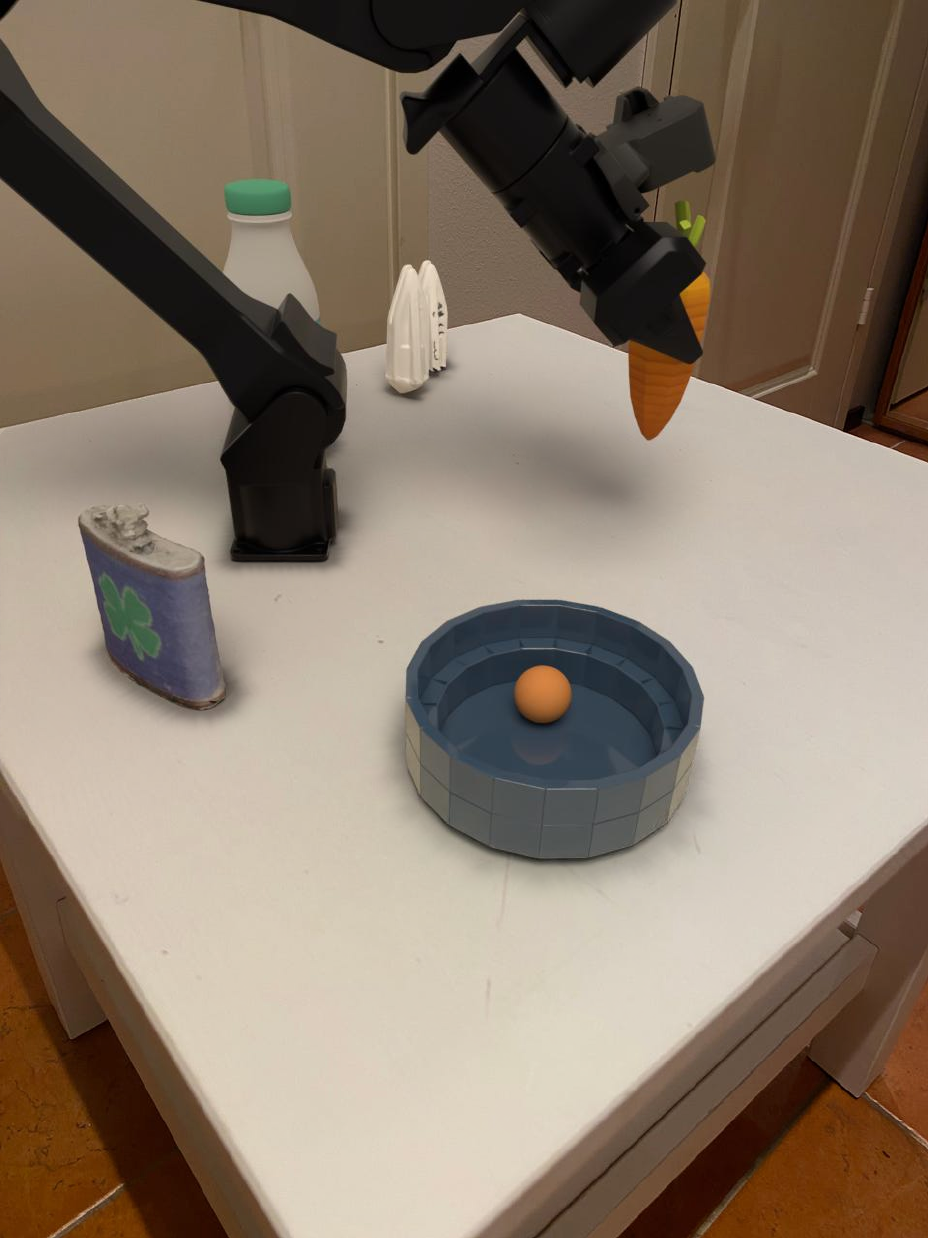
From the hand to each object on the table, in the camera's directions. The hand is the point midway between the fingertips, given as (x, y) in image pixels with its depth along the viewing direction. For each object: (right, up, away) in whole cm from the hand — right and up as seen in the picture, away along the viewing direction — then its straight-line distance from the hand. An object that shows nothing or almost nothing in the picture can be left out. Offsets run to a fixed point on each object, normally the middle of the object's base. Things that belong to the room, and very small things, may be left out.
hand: (683, 344), depth 60 cm
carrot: (-2, -6, +4) cm, 7 cm away
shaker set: (-19, +5, +30) cm, 36 cm away
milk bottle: (-29, -4, +17) cm, 34 cm away
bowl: (-10, -25, -12) cm, 29 cm away
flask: (-31, -21, -7) cm, 38 cm away
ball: (-10, -22, -11) cm, 26 cm away
